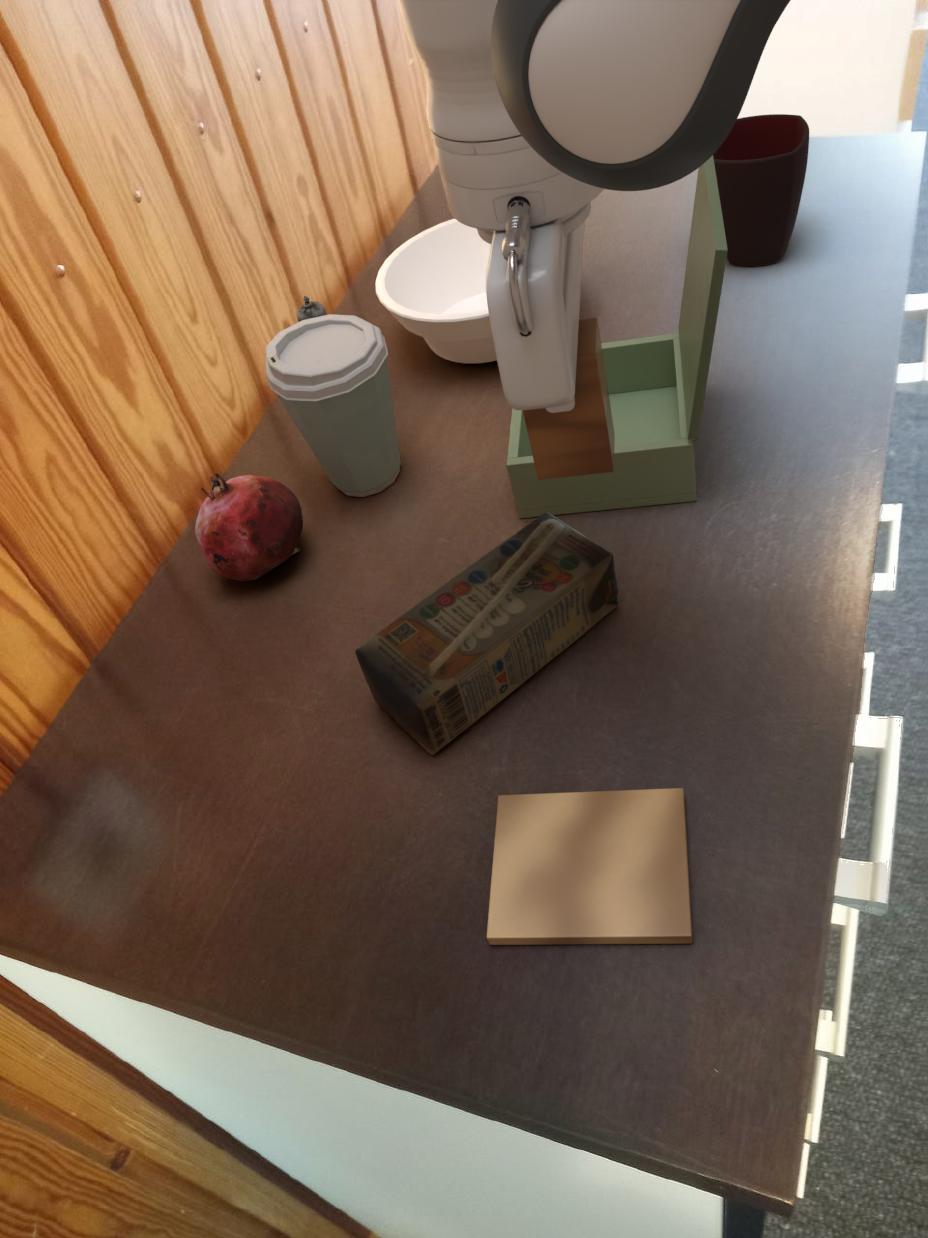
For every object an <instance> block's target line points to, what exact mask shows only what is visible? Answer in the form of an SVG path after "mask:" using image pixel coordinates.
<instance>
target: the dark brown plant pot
mask: <svg viewBox="0 0 928 1238" xmlns="http://www.w3.org/2000/svg"><path fill="white" fill-rule="evenodd" d="M809 144H810V127H809V124H808V121H806V120H805V118H804V117H803V116H802V115H800V114H786V113H785V114H783V113H779V114H778V113H777V114H775V113H773V114H759V115H750V116H745V117H738V118H737V120H736V122H735V124H734V126H733V128H732V130H731V131H730V133H729V134H728V136H727V138H726V139H725V141H724V142H723V143H722V145H721V146H720V147H719V149H718V150H717V151H716V152H715V153H714V154H713V158H714V165H715V171H716V178H717V184H718V191H719V197H720V203H721V210H722V216H723V223H724V229H725V236H726V242H727V249H728V252H727V258H726V260H727V261H728V263H729V264H730V265H732V266H738V267H759V266H766V265H771V264H776V263H779V262H780V261H781V260H782V259H783V258H784V256H785V255H786V253H787V250H788V247H789V244H790V242H791V238H792V235H793V232H794V229H795V226H796V222H797V217H798V214H799V208H800V205H801V201H802V196H803V195H802V194H803V190H804V185H805V179H806V173H807V166H808V161H809V149H810V148H809V147H810V145H809Z"/></svg>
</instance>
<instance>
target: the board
mask: <svg viewBox="0 0 928 1238" xmlns="http://www.w3.org/2000/svg"><path fill="white" fill-rule="evenodd" d="M684 790H685V789H684V788H683V787H674V788H673V787H671V788H649V789H648V788H647V789H646V788H645V789H644V788H643V789H623V790H597V791H595V790H594V791H572V792H571V791H570V792H547V793H521V794H499V795H497V803H496V804H497V805H496V818H495V828H494V829H495V830H494V841H493V842H494V843H493V853H492V855H493V856H492V867H491V878H490V889H489V903H488V914H487V915H488V916H487V926H486V940H487V942H488V945H490V946H524V945H525V946H529V945H531V946H534V945H535V946H538V945H540V946H541V945H542V946H543V945H545V946H546V945H548V946H549V945H658V944H659V945H667V944H668V945H673V944H675V945H676V944H678V945H680V944H681V945H682V944H688V945H689V944H693V943H694V940H693V922H692V906H691V905H692V904H691V889H690V886H691V885H690V874H689V873H690V870H689V855H688V852H689V851H688V837H687V821H686V820H687V818H686V817H687V816H686V804H685V803H686V802H685V801H686V799H685V791H684Z"/></svg>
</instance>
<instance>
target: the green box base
mask: <svg viewBox="0 0 928 1238" xmlns="http://www.w3.org/2000/svg"><path fill="white" fill-rule="evenodd" d="M601 344H602V351H603V358H604V365H605V372H606V378H607V385H608V392H609V399H610V405H611V412H612V419H613V426H614V433H615V447H614V472H608V473H599V474H589V475H580V476H570V477H561V478H552V479H542V480H538V477H537V473H536V468H535V464H534V459H533V455H532V450H531V446H530V441H529V437H528V432H527V428H526V423H525V419H524V415H523V410H515V409H513V408H512V407H511V418H510V427H509V437H508V447H507V456H506V465H505V466H506V471H507V473H508V479H509V481H510V482H509V483H510V486H511V490H512V494H513V500H514V502H515V503H514V504H515V507H516V511H517V515H518V519H528V518H529V519H530V518H538V517H540V516H541V515H542V514H543V513H545V512H547V513H550V514H552V515H553V516H558V515H559V516H560V515H568V514H569V515H570V514H579V513H589V512H599V511H607V510H608V511H609V510H618V509H619V510H620V509H630V508H638V507H639V508H641V507H649V506H658V505H659V506H660V505H669V504H671V505H672V504H678V503H680V504H681V503H689V502H697V501H698V493H697V492H698V491H697V480H696V479H697V478H696V467H695V465H696V464H695V451H694V439H688V437H687V425H686V413H685V400H684V388H683V376H682V364H681V352H680V340H679V332H674V333H667V334H660V335H653V336H651V335H650V336H645V337H636V338H629V339H622V340H616V341H615V340H614V341H607V342H601Z"/></svg>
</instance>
